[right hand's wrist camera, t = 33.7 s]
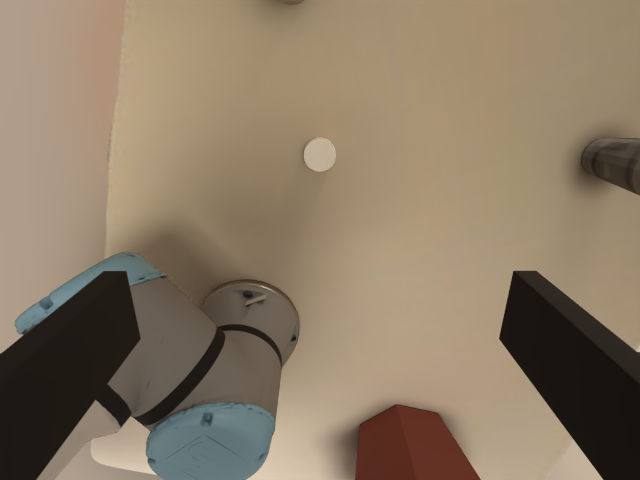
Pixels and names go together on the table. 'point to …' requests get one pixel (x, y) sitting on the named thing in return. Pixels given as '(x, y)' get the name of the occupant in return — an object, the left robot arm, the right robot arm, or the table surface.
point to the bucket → (410, 448)
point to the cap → (319, 154)
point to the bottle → (291, 1)
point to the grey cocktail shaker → (615, 161)
